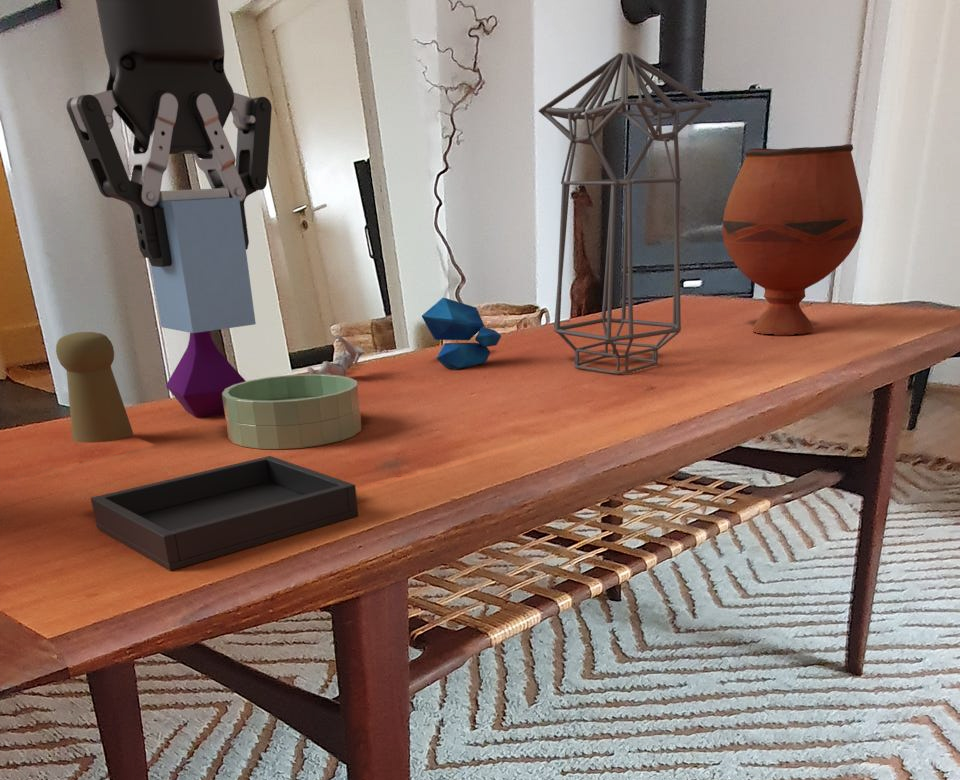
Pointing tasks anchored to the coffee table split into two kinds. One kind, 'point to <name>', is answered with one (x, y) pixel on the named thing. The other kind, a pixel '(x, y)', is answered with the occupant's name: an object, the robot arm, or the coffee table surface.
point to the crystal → (459, 333)
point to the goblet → (792, 225)
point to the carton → (203, 263)
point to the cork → (92, 388)
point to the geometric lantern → (573, 114)
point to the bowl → (292, 411)
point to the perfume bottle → (202, 377)
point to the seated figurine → (340, 360)
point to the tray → (223, 510)
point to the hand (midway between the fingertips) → (197, 261)
